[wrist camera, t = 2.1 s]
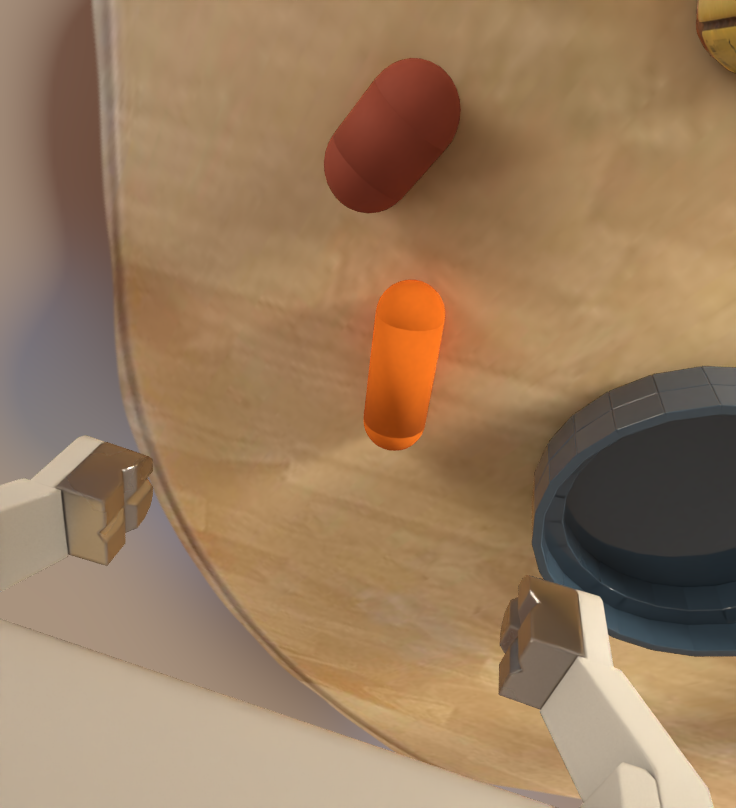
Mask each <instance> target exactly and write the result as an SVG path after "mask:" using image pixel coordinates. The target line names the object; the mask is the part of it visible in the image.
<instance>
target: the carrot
mask: <svg viewBox="0 0 736 808" xmlns="http://www.w3.org/2000/svg"><path fill="white" fill-rule="evenodd" d="M444 321H445V308H444V304H443V302H442V299H441V297H440V296H439V294H438V293H437V291H436V290H435V289H433V288H432V287H431V286H430V285H428V284H426V283H424V282H422V281H418V280H405V281H400V282H397V283H396V284H394V285H392V286H390V287H389V288H388V289H387V290H386V291H385V292H384V293H383V295H382V296H381V297H380V299H379V302H378V304H377V308H376V314H375V323H374V332H373V340H372V349H371V358H370V366H369V375H368V384H367V392H366V401H365V409H364V427H365V430H366V433H367V435H368V436H369V438H370V439H371V440H372V441H373V442H374V443H375V444H376V445H378V446H379V447H381V448H384V449H387V450H393V451H395V450H403V449H406V448H408V447H410V446H411V445H413V444H414V443H415V442H416V441H417V440H418V439H419V438H420V436H421V435H422V433H423V430H424V427H425V423H426V417H427V412H428V407H429V401H430V396H431V391H432V385H433V380H434V375H435V369H436V364H437V359H438V353H439V348H440V343H441V337H442V332H443V327H444Z"/></svg>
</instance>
